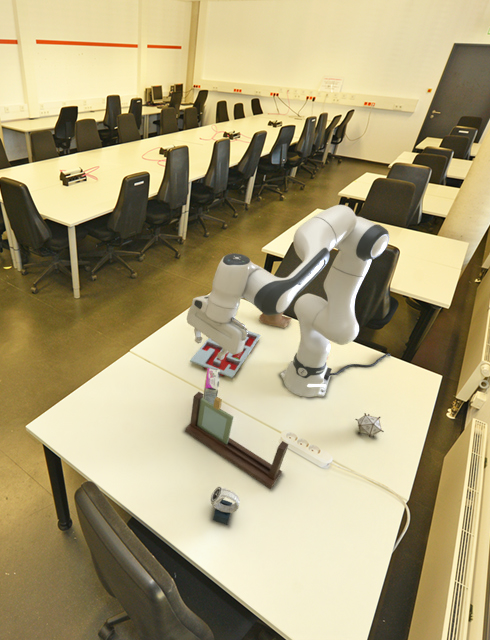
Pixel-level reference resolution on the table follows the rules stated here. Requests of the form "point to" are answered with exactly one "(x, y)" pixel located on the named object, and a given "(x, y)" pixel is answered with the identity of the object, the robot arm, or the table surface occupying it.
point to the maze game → (230, 362)
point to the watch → (223, 504)
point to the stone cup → (275, 320)
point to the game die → (369, 425)
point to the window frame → (238, 451)
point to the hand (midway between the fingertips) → (208, 349)
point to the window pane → (215, 420)
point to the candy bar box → (211, 385)
